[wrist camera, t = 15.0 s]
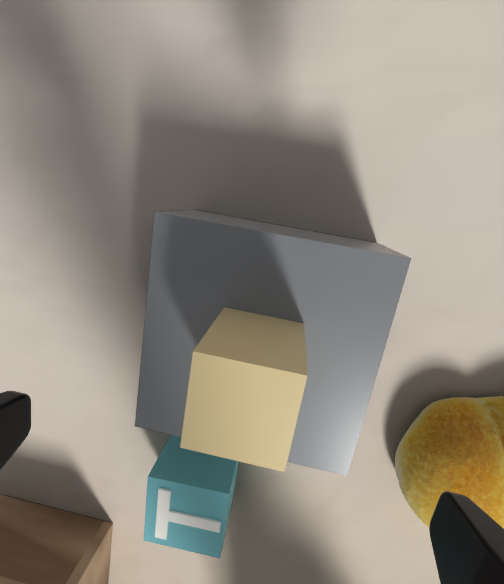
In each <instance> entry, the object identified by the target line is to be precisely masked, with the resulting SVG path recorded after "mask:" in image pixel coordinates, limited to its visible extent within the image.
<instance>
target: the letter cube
mask: <svg viewBox="0 0 504 584" xmlns="http://www.w3.org/2000/svg"><path fill="white" fill-rule="evenodd" d="M180 445H181V437H179V436H174V435H171V436H170V437H169V439H168V441H167V443H166V445H165V446H164V448H163V450H162V452H161V454H160V455H159V457H158V459H157V461H156V463H155V465H154V466H153V468H152V470H151V472H150V474H149V475H148V483H147V499H146V514H145V529H144V541H149V542H153V543H157V544H161V545H166V546H170V547H174V548H178V549H183V550H187V551H191V552H195V553H200V554H204V555H208V556H212V557H217V558H220V556H221V551H222V547H223V542H224V538H225V533H226V529H227V524H228V519H229V515H230V510H231V506H232V501H233V497H234V491H235V484H236V477H237V470H238V464H239V461H235V460H231V459H227V458H222V457H218V456H214V455H210V454H206V453H201V452H197V451H193V450H189V449H184V448H180Z"/></svg>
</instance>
